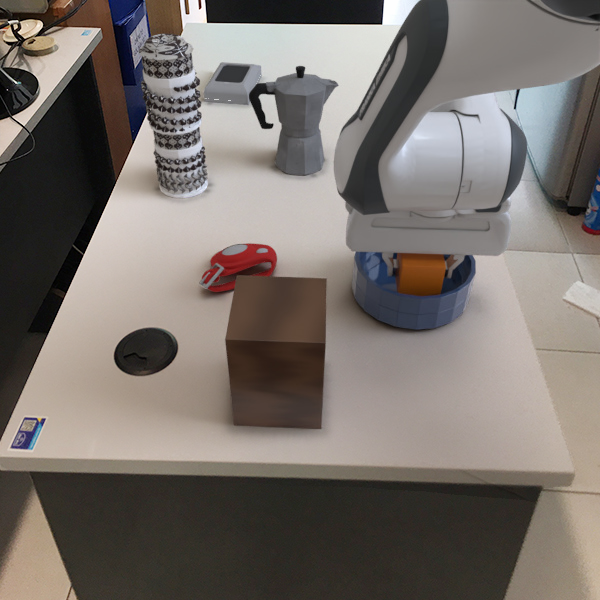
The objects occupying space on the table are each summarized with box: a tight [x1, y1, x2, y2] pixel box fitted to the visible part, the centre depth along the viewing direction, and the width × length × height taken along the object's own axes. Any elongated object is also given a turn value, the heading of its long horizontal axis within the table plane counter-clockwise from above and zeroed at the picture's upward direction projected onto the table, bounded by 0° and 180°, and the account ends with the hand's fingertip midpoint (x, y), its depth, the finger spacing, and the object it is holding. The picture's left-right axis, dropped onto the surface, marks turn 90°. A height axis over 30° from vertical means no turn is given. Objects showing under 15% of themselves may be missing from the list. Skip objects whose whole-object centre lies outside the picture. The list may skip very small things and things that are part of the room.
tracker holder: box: [199, 243, 278, 293], centre depth 91 cm, size 12×4×10 cm
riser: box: [224, 274, 328, 430], centre depth 71 cm, size 10×10×14 cm
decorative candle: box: [138, 33, 209, 199], centre depth 102 cm, size 9×9×25 cm
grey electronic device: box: [203, 61, 262, 106], centre depth 139 cm, size 10×4×15 cm
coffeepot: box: [249, 65, 340, 176], centre depth 110 cm, size 15×9×18 cm, turn 101°
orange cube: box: [395, 253, 446, 296], centre depth 83 cm, size 6×6×6 cm
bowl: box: [351, 252, 477, 330], centre depth 87 cm, size 16×16×6 cm
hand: (418, 274), depth 84 cm, fingers closed on orange cube, 5 cm apart
